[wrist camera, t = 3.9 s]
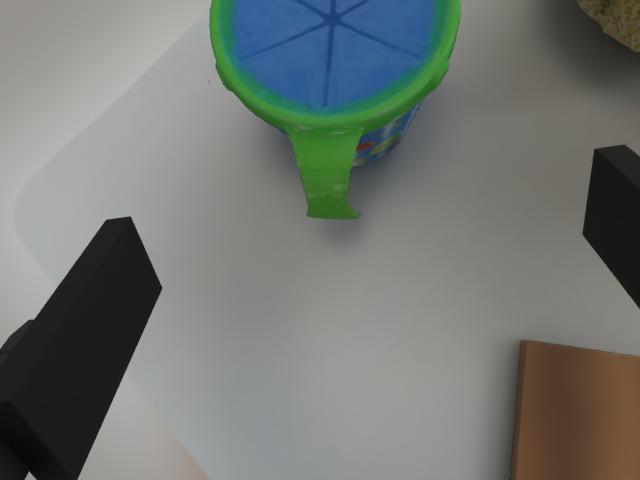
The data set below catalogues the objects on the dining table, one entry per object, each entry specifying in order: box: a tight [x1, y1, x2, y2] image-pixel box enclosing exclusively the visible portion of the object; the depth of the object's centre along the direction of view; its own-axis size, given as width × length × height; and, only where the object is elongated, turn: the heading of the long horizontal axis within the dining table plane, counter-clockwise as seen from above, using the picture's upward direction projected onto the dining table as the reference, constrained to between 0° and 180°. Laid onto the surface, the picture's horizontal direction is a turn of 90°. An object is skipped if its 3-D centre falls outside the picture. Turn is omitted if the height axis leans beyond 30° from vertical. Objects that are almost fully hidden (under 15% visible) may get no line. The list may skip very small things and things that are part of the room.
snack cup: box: [209, 0, 460, 219], centre depth 25 cm, size 16×10×10 cm
